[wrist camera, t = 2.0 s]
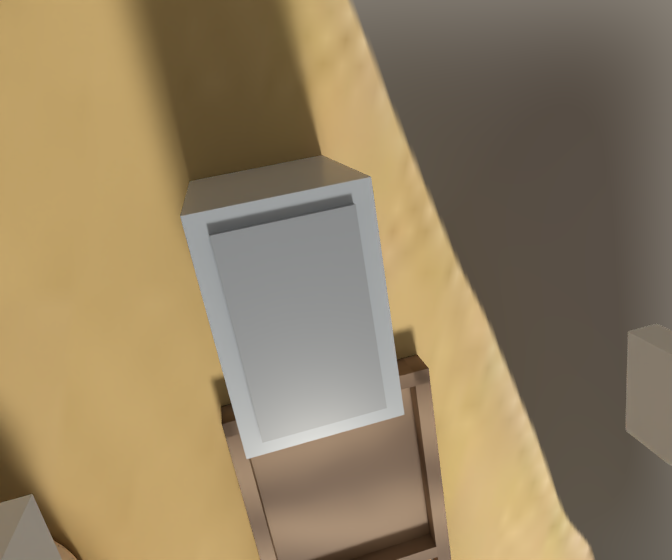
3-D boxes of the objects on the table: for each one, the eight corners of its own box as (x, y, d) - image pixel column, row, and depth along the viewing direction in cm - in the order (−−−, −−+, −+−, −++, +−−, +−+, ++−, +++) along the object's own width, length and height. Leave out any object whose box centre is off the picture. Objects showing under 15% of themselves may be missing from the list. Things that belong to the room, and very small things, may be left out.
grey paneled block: (189, 181, 23) (179, 218, 16) (321, 154, 24) (373, 177, 16) (236, 359, 26) (247, 464, 19) (351, 330, 27) (407, 419, 20)
